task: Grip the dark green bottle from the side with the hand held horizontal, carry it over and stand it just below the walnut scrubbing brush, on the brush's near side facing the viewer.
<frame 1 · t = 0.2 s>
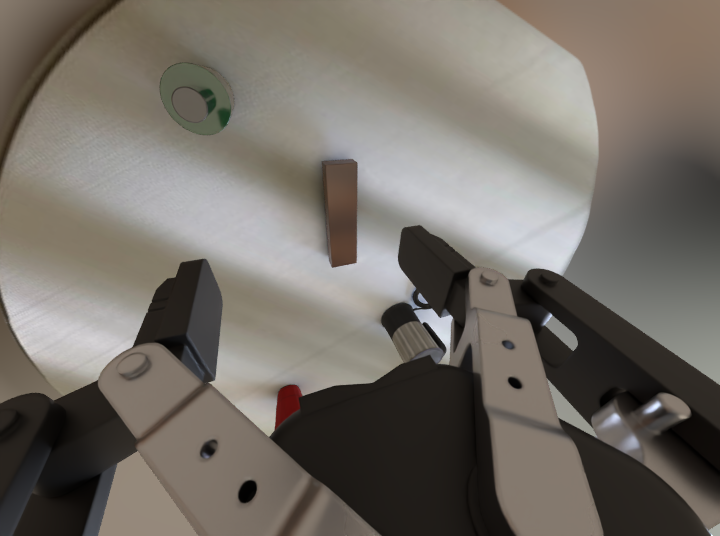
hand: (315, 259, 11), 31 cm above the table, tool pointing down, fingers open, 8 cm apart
green bottle: (209, 95, 30), on the table
plastic cup: (288, 389, 71), on the table
brush: (337, 217, 45), on the table
milk frother: (407, 304, 67), on the table
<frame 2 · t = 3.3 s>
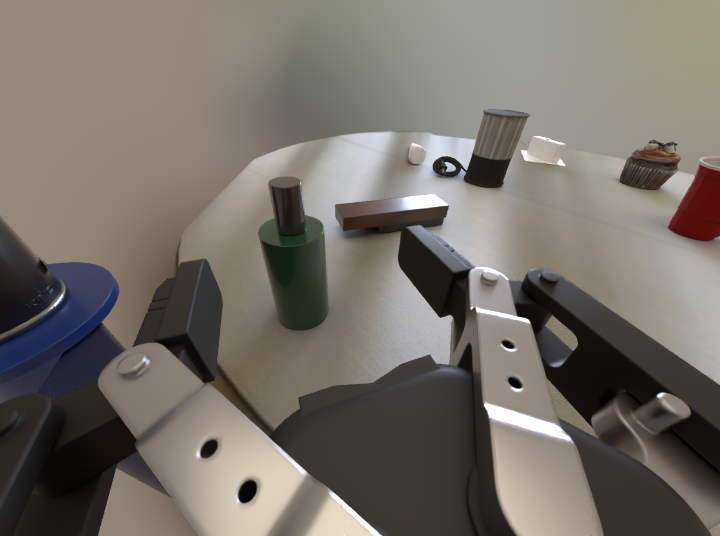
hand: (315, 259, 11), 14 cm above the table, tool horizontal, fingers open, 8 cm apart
napkin holder: (541, 158, 84), on the table
green bottle: (303, 310, 28), on the table
cupcake: (637, 184, 66), on the table
plastic cup: (687, 233, 45), on the table
brush: (395, 225, 44), on the table
milk frother: (465, 179, 65), on the table
unicorn horn: (412, 155, 81), on the table
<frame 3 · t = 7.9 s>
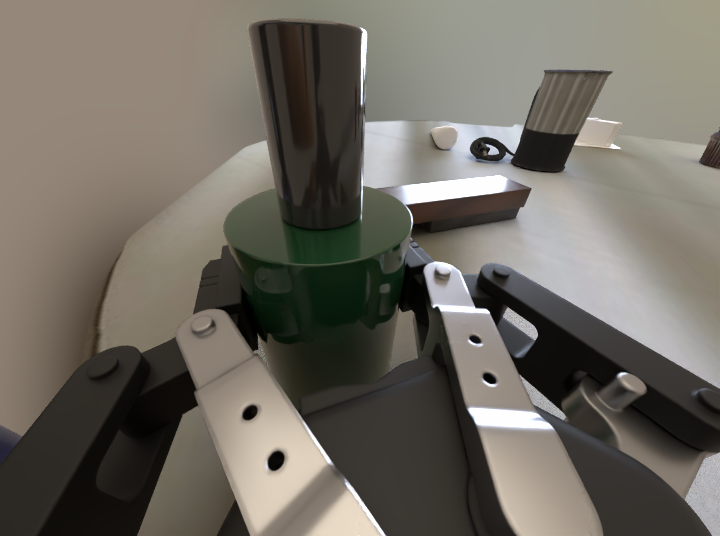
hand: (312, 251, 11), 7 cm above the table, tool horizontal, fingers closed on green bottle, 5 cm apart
napkin holder: (586, 142, 71), on the table
green bottle: (334, 386, 14), on the table, touching gripper
brush: (449, 219, 30), on the table
milk frother: (513, 163, 51), on the table
unicorn horn: (436, 141, 68), on the table
when the fingers open (7 cm above the table, at t = 16.3 s): green bottle stays where it is, on the table.
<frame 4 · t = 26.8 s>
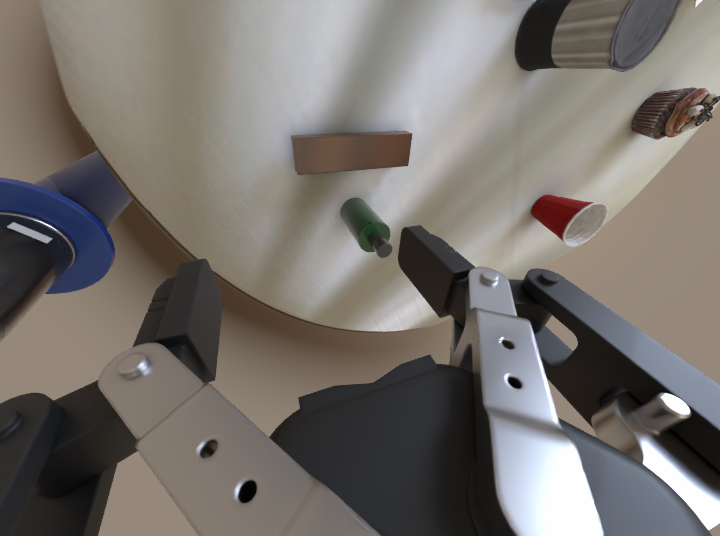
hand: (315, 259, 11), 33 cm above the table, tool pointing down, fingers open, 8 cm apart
green bottle: (354, 211, 48), on the table
cupcake: (646, 112, 59), on the table
plastic cup: (539, 205, 65), on the table
brush: (354, 147, 41), on the table
milk frother: (532, 7, 38), on the table
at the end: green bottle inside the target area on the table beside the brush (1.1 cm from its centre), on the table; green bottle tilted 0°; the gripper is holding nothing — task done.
